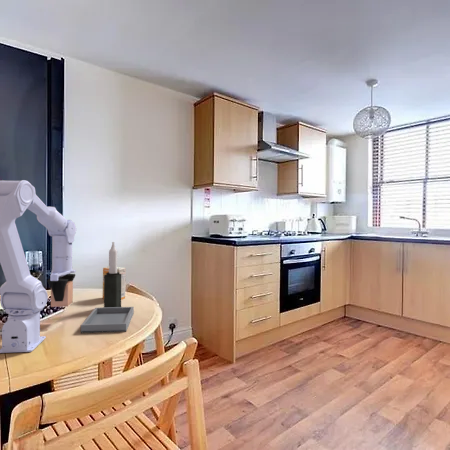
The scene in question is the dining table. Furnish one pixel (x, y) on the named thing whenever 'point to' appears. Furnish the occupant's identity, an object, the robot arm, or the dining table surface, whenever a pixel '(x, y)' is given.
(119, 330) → the tray
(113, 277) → the candle
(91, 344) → the dining table surface
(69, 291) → the cup
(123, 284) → the supplement box
